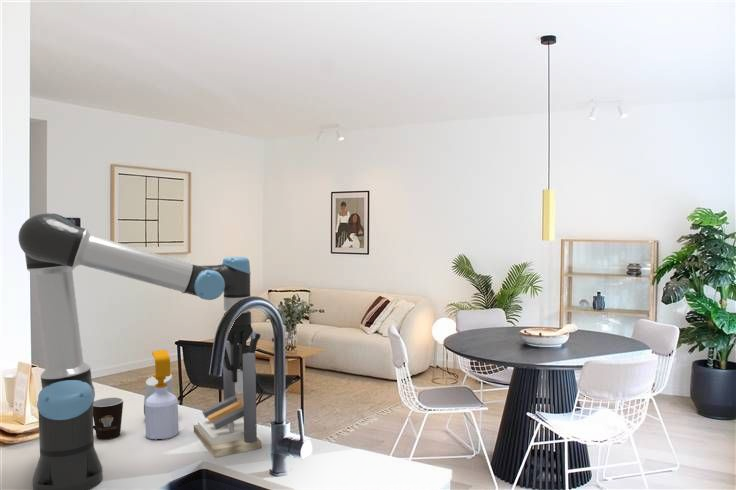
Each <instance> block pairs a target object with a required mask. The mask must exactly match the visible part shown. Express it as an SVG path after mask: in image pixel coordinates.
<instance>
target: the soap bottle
mask: <svg viewBox="0 0 736 490" xmlns="http://www.w3.org/2000/svg"><path fill="white" fill-rule="evenodd" d="M151 354H152V356H153V358H154V359H153V360H154V364H155V365H154V367H155V368H154V370H155V373H152V374H151V375H152V376H153V377H154V378H156V380H158V384H155V393H154V394H152V395H151V396H149V397H148V398H147V400H146V402H145V415H144V420H145V423H144V425H145V428H144V429H145V437H146V438H147V439H150V440H154V439H155V440H156V441H158V440H157V439H162V440H166V439H171V438H173V437H175V436H177V435H178V434H179V432H180V431H179V402H178V401H179V400H178V397H177V396H176V395H175V394H174V395H173V394H172V393H170V392H168V391H167V383H164V379H166V377H167V376H170V374H171V359H170V354H169V353H168V351H167V350H166V349H161V350H153V351H152V352H151Z"/></svg>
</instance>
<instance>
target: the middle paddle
mask: <svg viewBox="0 0 736 490" xmlns="http://www.w3.org/2000/svg"><path fill="white" fill-rule="evenodd" d="M242 407H244V402H242V401H241V400H237V402H235V403H233V404H231V405H229V406H227V407H225V408H223V409H221V410H219V411H217V412H215V413H213V414H211V415H209V416H207V418H206V419H207V420H209V422H210V423H211V424H212V422H214V421H216V420H218V419H220V418H222V417H224V416H226V415H228V414H230V413H232V412H234V411H236V410H238V409H240V408H242Z"/></svg>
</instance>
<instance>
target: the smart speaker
mask: <svg viewBox="0 0 736 490" xmlns="http://www.w3.org/2000/svg"><path fill="white" fill-rule="evenodd" d="M164 383H167V391H168V392H170V393H172V394H173V395H175V390H174V381H173V375H172V373H170V376H167V377H166V379H164ZM155 384H158V380H156V378H154V377H153V376H150V377H149V378H147V379H146V380H145V386H144V400H143V415H144V416H145V402H146V400H147V398H148V397H149V396H151V395H152V394H154V393H155Z"/></svg>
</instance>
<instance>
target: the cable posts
mask: <svg viewBox="0 0 736 490" xmlns="http://www.w3.org/2000/svg"><path fill="white" fill-rule="evenodd" d="M226 341H227V344H226V350H227V353H228V357H229V361H230V365H231V347H230V342H229V341H228V340H226ZM256 373H257V371H256V352H255V353H248V352H246V353H244V354H243V394H242V395H243V398H242V399H243V402H242V403H243V406H244V416H243V419H244V442H246V443H253V442H256V441H257V437H258V432H257V431H258V429H257V425H258V423H257V377H256V376H257V375H256ZM222 374H223V375H222V377H223V378H222V380H223V401H224V400H226V399H228V398H230V397H232V396H235V397H236V392H235V383H234V382H232V373H231V370H227V369H226V368H225V366H224V363H223V362H222Z"/></svg>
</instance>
